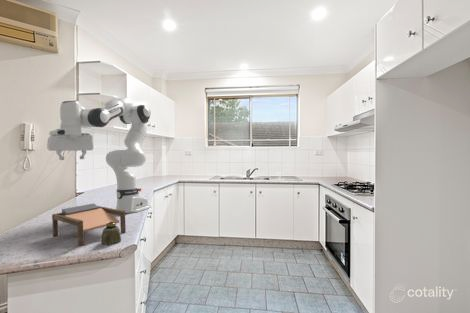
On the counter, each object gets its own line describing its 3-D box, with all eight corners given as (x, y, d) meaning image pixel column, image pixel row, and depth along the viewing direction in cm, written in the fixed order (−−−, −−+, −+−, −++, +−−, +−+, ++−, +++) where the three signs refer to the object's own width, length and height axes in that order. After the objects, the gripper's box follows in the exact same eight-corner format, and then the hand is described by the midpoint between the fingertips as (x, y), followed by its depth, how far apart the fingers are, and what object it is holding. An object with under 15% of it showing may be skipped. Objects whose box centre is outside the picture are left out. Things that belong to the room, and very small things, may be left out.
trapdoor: (95, 207, 126) (95, 203, 125) (119, 224, 115) (119, 219, 114) (59, 214, 112) (59, 209, 112) (82, 234, 101) (82, 228, 101)
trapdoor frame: (97, 225, 129) (97, 205, 128) (125, 232, 116) (125, 210, 115) (52, 236, 112) (52, 214, 112) (79, 246, 99) (78, 221, 99)
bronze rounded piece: (98, 223, 103) (98, 242, 103) (104, 226, 98) (104, 246, 98) (116, 219, 109) (117, 237, 109) (123, 222, 103) (123, 241, 104)
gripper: (89, 133, 137) (90, 158, 137) (45, 131, 120) (46, 160, 120) (95, 133, 134) (96, 158, 134) (50, 130, 116) (52, 160, 117)
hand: (72, 159), depth 127 cm, fingers open, 8 cm apart
